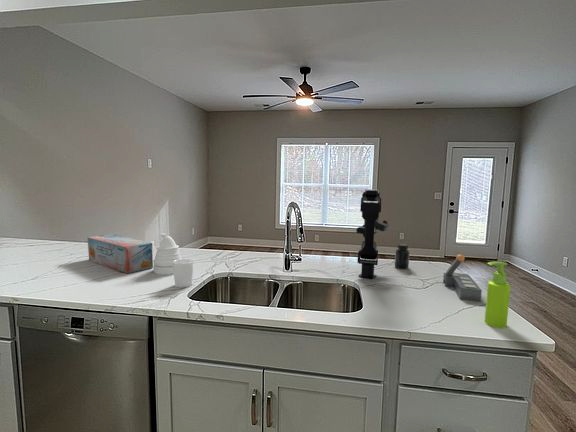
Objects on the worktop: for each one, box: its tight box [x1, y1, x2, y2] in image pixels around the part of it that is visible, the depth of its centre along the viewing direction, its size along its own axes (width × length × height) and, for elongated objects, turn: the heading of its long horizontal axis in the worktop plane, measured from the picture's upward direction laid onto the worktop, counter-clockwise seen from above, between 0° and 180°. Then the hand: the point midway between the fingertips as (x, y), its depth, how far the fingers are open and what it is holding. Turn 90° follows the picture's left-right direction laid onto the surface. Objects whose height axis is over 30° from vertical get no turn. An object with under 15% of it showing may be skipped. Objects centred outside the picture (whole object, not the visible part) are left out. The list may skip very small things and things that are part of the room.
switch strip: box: [442, 272, 483, 302], centre depth 134 cm, size 10×22×5 cm, turn 163°
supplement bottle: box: [394, 243, 410, 270], centre depth 168 cm, size 7×7×12 cm
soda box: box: [87, 233, 154, 274], centre depth 164 cm, size 41×14×13 cm, turn 53°
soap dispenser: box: [484, 260, 511, 329], centre depth 102 cm, size 6×7×20 cm
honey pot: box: [153, 233, 183, 275], centre depth 154 cm, size 13×13×18 cm
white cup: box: [173, 258, 194, 289], centre depth 134 cm, size 8×8×10 cm
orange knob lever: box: [442, 254, 466, 279], centre depth 140 cm, size 3×3×13 cm
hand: (369, 245), depth 163 cm, fingers closed
